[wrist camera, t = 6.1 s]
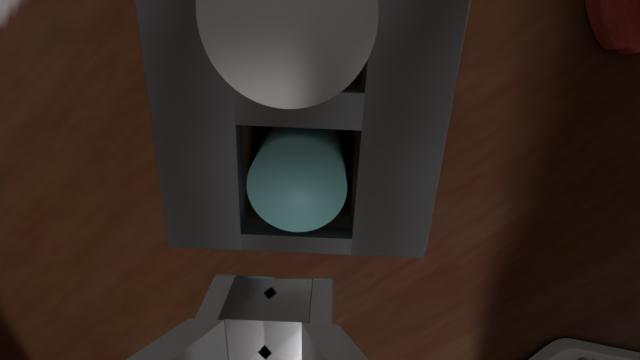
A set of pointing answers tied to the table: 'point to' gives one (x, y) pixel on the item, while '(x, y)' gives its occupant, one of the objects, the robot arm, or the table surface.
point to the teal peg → (298, 178)
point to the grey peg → (288, 46)
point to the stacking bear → (616, 24)
